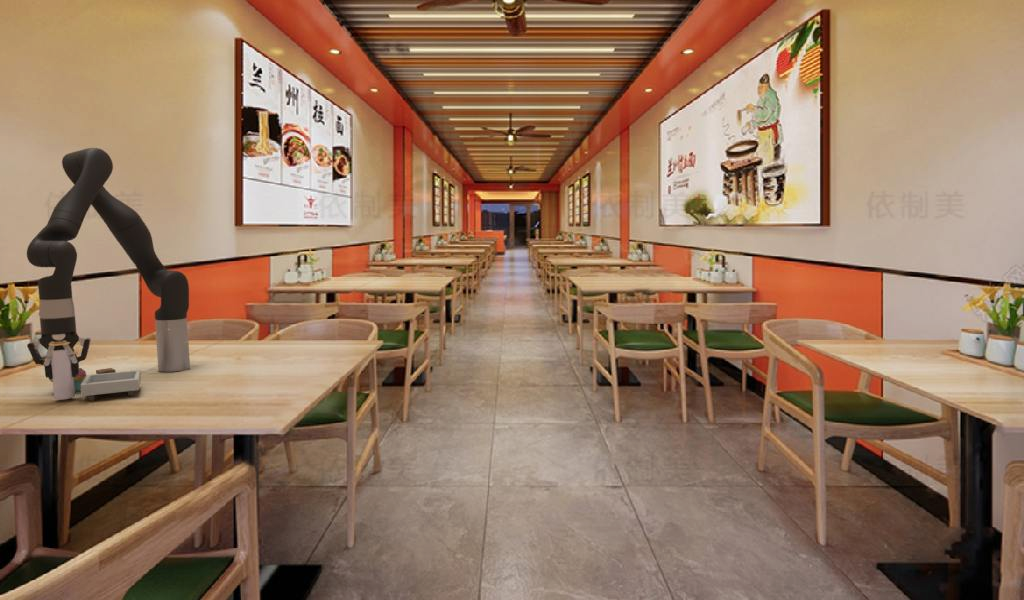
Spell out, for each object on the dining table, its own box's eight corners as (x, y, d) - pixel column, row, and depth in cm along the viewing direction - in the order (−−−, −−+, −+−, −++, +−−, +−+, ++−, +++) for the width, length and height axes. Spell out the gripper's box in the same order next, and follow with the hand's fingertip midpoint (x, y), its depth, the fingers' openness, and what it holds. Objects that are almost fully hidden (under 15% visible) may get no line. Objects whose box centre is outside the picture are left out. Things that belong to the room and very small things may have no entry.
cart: (141, 386, 174) (140, 370, 174) (139, 396, 163) (138, 379, 163) (88, 392, 168) (86, 375, 168) (81, 403, 157) (80, 385, 156)
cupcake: (94, 389, 171) (91, 348, 170) (64, 396, 164) (60, 354, 162) (74, 386, 174) (70, 346, 173) (43, 393, 166) (39, 352, 165)
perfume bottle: (59, 404, 156) (52, 330, 154) (46, 401, 158) (40, 328, 156) (82, 398, 161) (76, 326, 159) (70, 396, 164) (64, 325, 161)
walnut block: (112, 380, 182) (111, 367, 182) (116, 382, 180) (115, 369, 179) (96, 382, 179) (95, 370, 179) (100, 385, 176) (100, 372, 176)
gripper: (91, 312, 164) (96, 371, 166) (26, 315, 157) (32, 377, 159) (88, 315, 158) (93, 377, 159) (20, 319, 150) (26, 384, 152)
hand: (62, 377), depth 159 cm, fingers closed on perfume bottle, 4 cm apart
